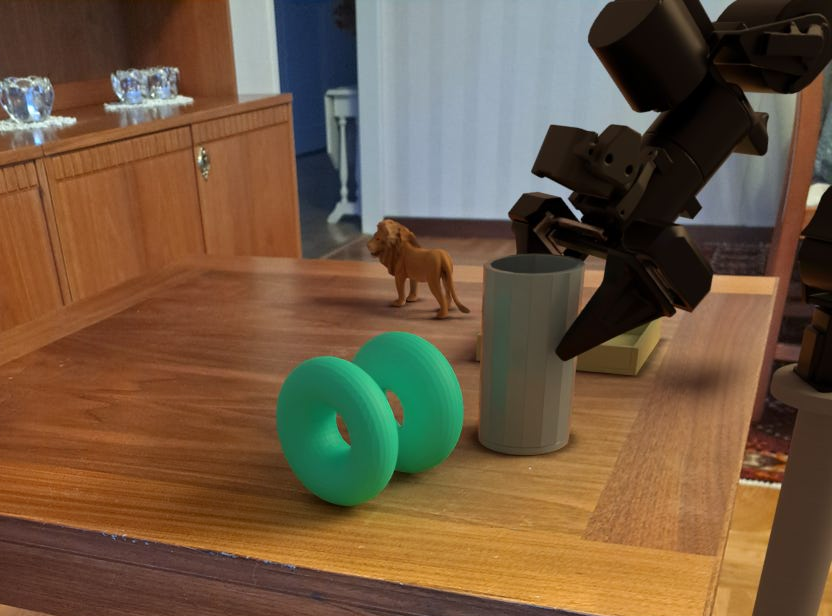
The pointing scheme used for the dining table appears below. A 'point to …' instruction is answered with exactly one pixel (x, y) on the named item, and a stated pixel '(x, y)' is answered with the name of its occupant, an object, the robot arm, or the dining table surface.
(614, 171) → the robot arm
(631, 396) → the dining table surface
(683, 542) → the dining table surface
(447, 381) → the donuts
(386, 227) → the lion figurine
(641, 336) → the tray
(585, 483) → the dining table surface
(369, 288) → the dining table surface
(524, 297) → the cup
